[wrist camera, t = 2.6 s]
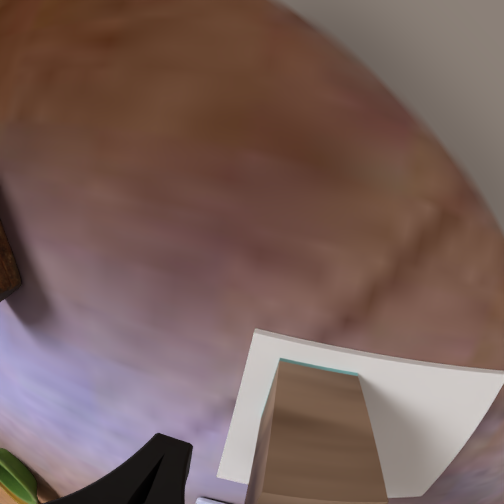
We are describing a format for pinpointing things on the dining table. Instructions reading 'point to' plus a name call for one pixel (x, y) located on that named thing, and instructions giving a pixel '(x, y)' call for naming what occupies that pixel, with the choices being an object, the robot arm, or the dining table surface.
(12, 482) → the tableware set
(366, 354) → the white mat
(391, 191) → the dining table surface
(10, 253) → the brick
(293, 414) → the walnut block
